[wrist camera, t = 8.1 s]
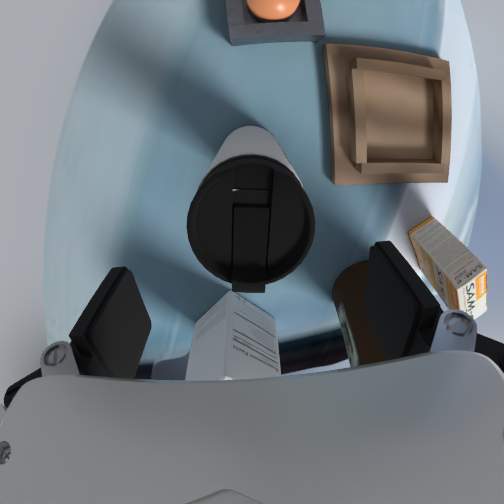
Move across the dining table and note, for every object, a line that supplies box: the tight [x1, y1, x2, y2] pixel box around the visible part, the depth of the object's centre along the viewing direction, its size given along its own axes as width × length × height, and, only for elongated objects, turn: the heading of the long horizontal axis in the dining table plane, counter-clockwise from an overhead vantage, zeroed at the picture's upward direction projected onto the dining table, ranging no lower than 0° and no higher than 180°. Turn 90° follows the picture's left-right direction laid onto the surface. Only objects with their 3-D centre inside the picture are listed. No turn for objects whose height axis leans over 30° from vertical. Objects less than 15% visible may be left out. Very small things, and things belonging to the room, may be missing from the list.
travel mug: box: [187, 125, 315, 293], centre depth 22 cm, size 6×7×20 cm
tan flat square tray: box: [323, 43, 452, 186], centre depth 26 cm, size 16×16×4 cm
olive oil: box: [332, 261, 386, 367], centre depth 29 cm, size 11×11×25 cm
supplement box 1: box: [185, 290, 281, 381], centre depth 36 cm, size 9×9×15 cm
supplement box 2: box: [408, 217, 487, 320], centre depth 31 cm, size 8×5×13 cm, turn 35°
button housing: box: [225, 0, 325, 46], centre depth 20 cm, size 9×9×4 cm
